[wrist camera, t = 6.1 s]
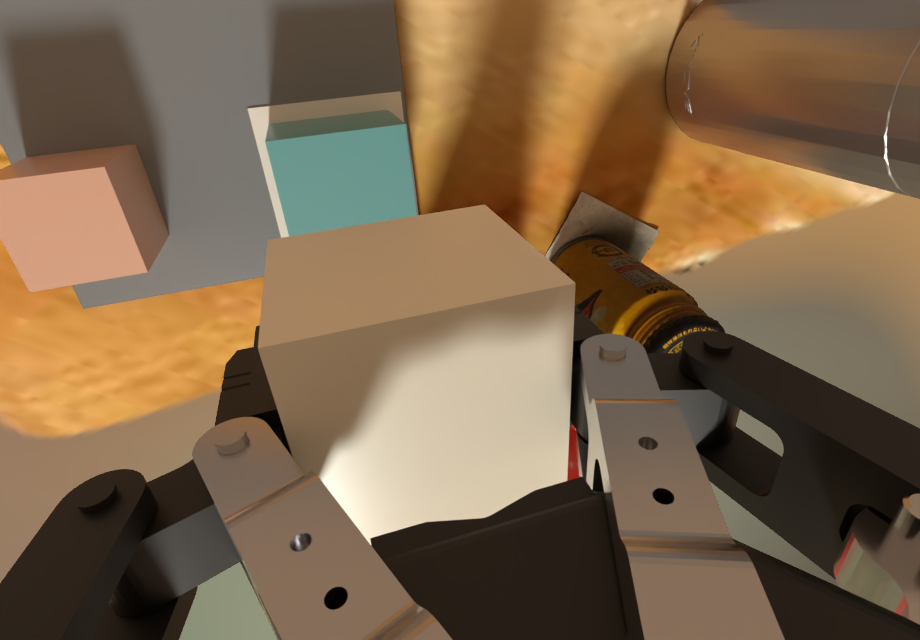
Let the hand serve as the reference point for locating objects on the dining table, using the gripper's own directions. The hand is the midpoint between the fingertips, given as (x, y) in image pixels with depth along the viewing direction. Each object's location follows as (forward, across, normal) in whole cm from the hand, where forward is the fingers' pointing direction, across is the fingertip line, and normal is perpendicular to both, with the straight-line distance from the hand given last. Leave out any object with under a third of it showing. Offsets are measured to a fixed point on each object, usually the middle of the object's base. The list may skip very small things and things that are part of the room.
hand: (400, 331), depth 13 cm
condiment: (+19, -16, +9) cm, 26 cm away
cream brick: (+1, 0, 0) cm, 1 cm away
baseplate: (+19, +5, -2) cm, 20 cm away
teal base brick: (+17, 0, 0) cm, 17 cm away
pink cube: (+18, +12, 0) cm, 21 cm away
